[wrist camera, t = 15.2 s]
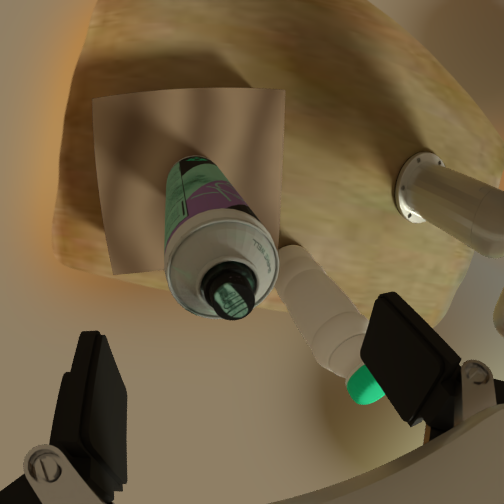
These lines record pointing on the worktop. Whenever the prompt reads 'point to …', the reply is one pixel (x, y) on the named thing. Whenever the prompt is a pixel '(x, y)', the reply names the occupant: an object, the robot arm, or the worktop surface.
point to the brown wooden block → (174, 149)
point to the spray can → (214, 244)
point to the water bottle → (326, 320)
